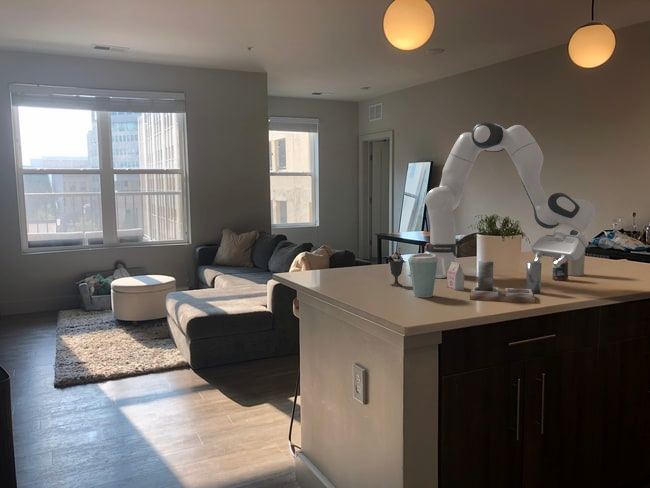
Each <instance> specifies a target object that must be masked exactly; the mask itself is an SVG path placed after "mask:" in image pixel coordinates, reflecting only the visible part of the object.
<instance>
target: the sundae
mask: <svg viewBox="0 0 650 488" xmlns="http://www.w3.org/2000/svg"><path fill="white" fill-rule="evenodd" d="M401 248H402V247H398V250H397V251H395V252H394V253H393V254H392V255H389V256H388V260H387V261H388V262H389V265H390V272H391V275H392V276H393V277H394V282H393V283H390V285H392V286H391V287H403V284H401V283H400V282H399V277H400V276H401V274H402V272H403V264H404V262H405V259H404V258H403V256H402V254H401ZM398 251H399V252H398Z"/></svg>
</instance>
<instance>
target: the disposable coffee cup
mask: <svg viewBox="0 0 650 488" xmlns="http://www.w3.org/2000/svg"><path fill="white" fill-rule="evenodd" d="M407 261H408V265H409V270H410V273H411V276H410V279H411V283H412V291H413V294H414V296H415V297H417V298H431V297H433V295H434V290H435V289H434V288H435V282H436V278H435V275H436V267H437V261H438V258H437V257H436V255H435V254H429V253H424V252H423V253H415V254H411V255H410V256H409V257H408V259H407Z"/></svg>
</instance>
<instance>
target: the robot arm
mask: <svg viewBox="0 0 650 488" xmlns="http://www.w3.org/2000/svg"><path fill="white" fill-rule="evenodd" d="M483 151H484V152H490V153H491V152H493V153H499V152H503V151H506V152H507V153H508V155H509V157H510V159H511V161H512V162H513V164H514V166H515V168H516V170H517V173H518V175H519V177H520V180H521V183H522V185H523V188H524V190H525V191H524V192H526V195H527V196H528V199H529V201H530V203H531V205H532V208H533V213H534V219H535V222H536V223H537V225H539V226H540V227H542V228H544V229H550V230H551V229H555V228H556V229H555V230H554V231H553V233H552V234H546V235H543V236H541V237H539V238H538V239H537V240H536V241H535V242H534V243H533V245H532V246H531V247H530V249H531V251H532V252H533V253H534V255H535V258H534V259H533V262H540V263H542V259H541V258H543V257H550V258H560V259H559V260H558V261H555V262H554V263H553V262H552V266H553V265H554V266H555V267H559V266H560V265H561V264H563V263H564V262H566V261H567V260H577V259H579V258H580V257H581V255H582V254H583V253H584V251H585V252H586V248H588V246H589V245H590V243H589V241H588V240H587V238H586V237H585V235H584V236H583V234H584V232H585V231H586V230H588V228H589V227H590V226H591V224H592V222H593V221H594V219H595V216H596V214H597V211H596V207H595V205H594V204H593V203H592V202H591V201H589V200H588V199H583V198H581V199H579V198H574V197H571V196H569V195H568V194H566V193H564V192H556V193H553V194H551V195H550V196H549V197H548V196H547V194H546V192H545V190H544V188H543V186H542V183H541V172H542V168H543V164H544V160H545V159H544V158H545V157H544V154H543V151H542V149H541V147H540V145H539V144H538V142H537V141H536V139H535V137H534V136H533V135H532V134H531V132H530V131H529V130H528V129H527V128H526V127H525V126H524V125H521V124H515V125H512V126H510V127H509V128H506V127H504V126H502V125H500V124H498V123H493V122H489V121H482V122H479V123H478V124H476V125H475V126H474V127H473V129H472V131H471V132H463V133H461V134H460V135H459V136H458V138H457V139H456V140H455V143H454V145H453V146H452V148H451V150H450V153H449V155H448V157H447V159H446V162H445V164H444V166H443V168H442V175H441V179H440V183H439V185H438V186H436V187H434V188H432V189H431V190H429V191H427V193H426V195H425V198H424V203H425V205H426V209H427V213H428V215H427V216H428V219H429V226H430V227H429V228H430V229H429V230H430V231H429V235H430V236H429V237H430V238H429V242H426V244H425V251H424V252H423V253H429V254H435V255H436V257H437V258H438V261H437V267H436V275H435V279H444V278H447V271H448V269H449V266H450V264H451V262H455V263H458V262H457V256H458V246H457V238H456V237H457V225H456V223H455V217H454V210H456V209H457V208H458V206H459V205H460V203H461V200H462V196H463V193H464V189H465V187H466V184H467V183H466V182H467V180H468V177H469V176H470V173H471V171H472V168H473V167H474V165H475V163H476V159H477V158H478V155H480V153H481V152H483ZM407 276H409V277H411V273H410V269H409V270H408V271H407Z"/></svg>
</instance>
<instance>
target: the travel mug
mask: <svg viewBox="0 0 650 488" xmlns="http://www.w3.org/2000/svg"><path fill="white" fill-rule="evenodd" d="M585 235H586V234H585V233H583V236H584V237H585ZM585 254H586V250H585V251H584V253H583V254H582V255H581V257H580V258H579V259H577V260H568V277H570V276H571V277H572V276H573V277H581V276H584V275H585V261H586V260H585V259H586V255H585Z"/></svg>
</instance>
